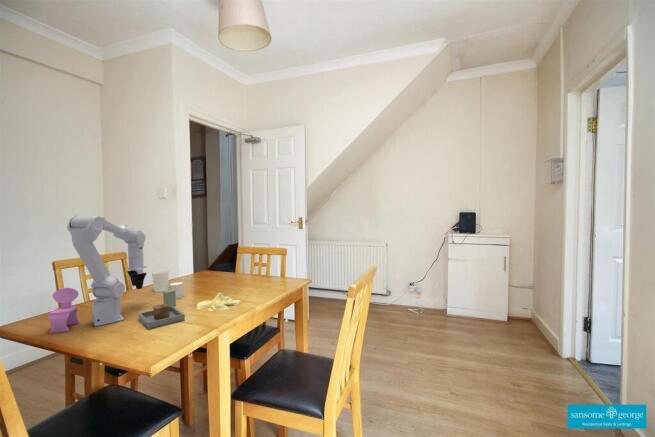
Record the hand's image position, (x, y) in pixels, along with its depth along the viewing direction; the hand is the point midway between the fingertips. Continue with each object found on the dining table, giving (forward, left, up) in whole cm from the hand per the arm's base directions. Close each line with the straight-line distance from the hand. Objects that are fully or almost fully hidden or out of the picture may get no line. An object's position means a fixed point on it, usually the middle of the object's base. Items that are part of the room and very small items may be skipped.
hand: (137, 287), depth 143 cm
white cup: (+16, +24, -10) cm, 30 cm away
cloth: (+28, -24, -10) cm, 38 cm away
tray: (+3, -25, -9) cm, 26 cm away
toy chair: (-26, -7, -10) cm, 29 cm away
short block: (+3, -24, -9) cm, 26 cm away
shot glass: (+18, +4, -10) cm, 21 cm away
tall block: (+11, -8, -10) cm, 17 cm away
